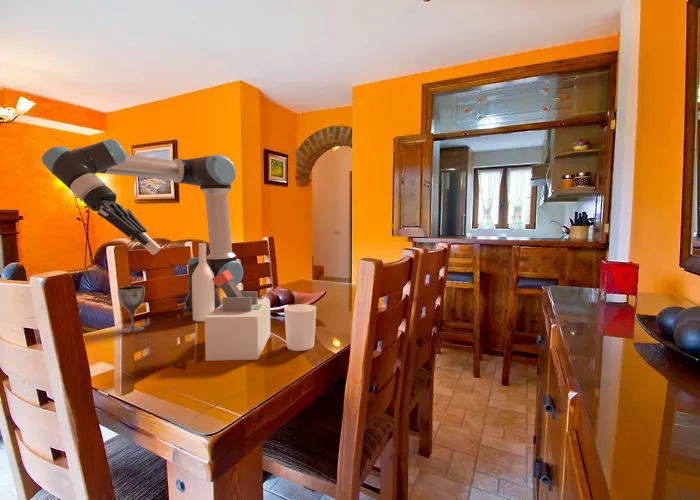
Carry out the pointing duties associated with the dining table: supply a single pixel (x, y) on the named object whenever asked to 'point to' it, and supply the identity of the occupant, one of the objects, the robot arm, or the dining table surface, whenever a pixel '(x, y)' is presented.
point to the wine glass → (131, 303)
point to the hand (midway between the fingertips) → (157, 251)
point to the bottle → (202, 287)
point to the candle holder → (300, 326)
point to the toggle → (227, 284)
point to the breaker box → (237, 328)
